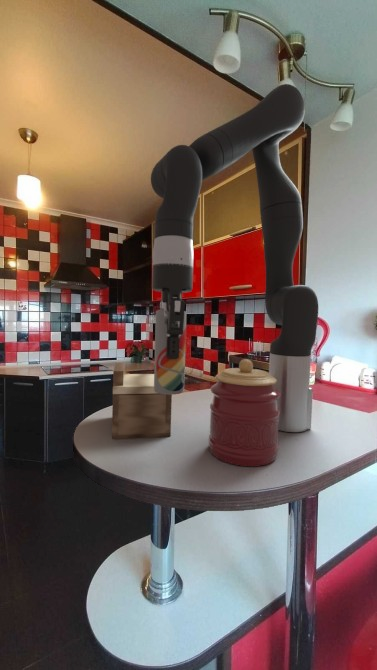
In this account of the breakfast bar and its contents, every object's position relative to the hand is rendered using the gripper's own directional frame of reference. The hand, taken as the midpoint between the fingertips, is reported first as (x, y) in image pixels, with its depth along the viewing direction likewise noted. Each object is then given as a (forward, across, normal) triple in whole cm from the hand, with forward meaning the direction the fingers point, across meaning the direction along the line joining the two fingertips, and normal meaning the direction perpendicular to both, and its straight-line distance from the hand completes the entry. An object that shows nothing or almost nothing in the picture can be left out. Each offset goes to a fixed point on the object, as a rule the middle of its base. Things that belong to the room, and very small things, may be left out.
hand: (170, 356), depth 56 cm
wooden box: (+18, +13, +5) cm, 22 cm away
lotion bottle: (+7, 0, 0) cm, 7 cm away
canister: (+18, -3, -14) cm, 23 cm away
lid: (+8, +13, +5) cm, 16 cm away
